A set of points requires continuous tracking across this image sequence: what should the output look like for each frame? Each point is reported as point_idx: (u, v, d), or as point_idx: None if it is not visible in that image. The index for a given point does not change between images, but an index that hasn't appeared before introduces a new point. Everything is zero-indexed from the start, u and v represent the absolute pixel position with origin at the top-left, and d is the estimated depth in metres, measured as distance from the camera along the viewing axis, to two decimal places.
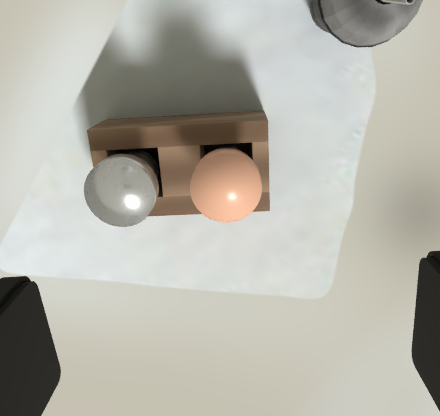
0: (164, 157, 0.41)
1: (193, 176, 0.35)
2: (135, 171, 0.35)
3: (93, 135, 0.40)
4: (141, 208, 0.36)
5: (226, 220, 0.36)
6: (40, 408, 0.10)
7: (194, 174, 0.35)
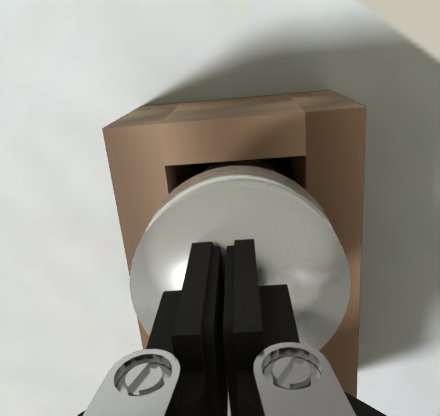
0: None
1: None
2: (310, 337, 0.12)
3: (349, 124, 0.14)
4: None
5: None
6: None
7: None
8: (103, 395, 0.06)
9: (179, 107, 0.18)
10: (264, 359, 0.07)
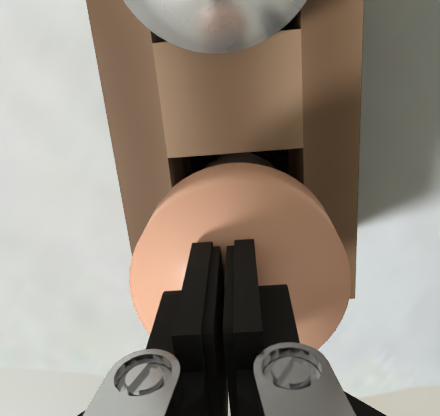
0: (269, 49, 0.14)
1: (281, 195, 0.10)
2: None
3: None
4: (170, 7, 0.12)
5: (136, 290, 0.12)
6: None
7: (288, 198, 0.10)
8: (103, 395, 0.06)
9: None
10: (264, 359, 0.07)
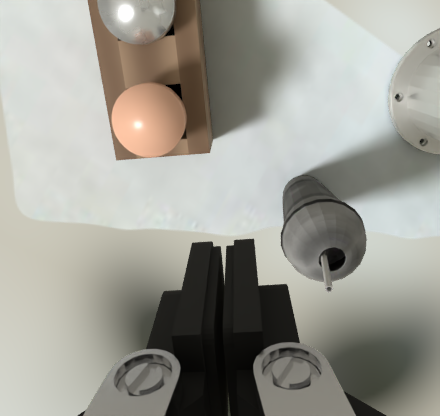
0: (163, 43, 0.37)
1: (158, 88, 0.34)
2: (161, 23, 0.34)
3: None
4: (121, 28, 0.34)
5: (114, 123, 0.35)
6: None
7: (160, 89, 0.34)
8: (103, 395, 0.06)
9: None
10: (264, 359, 0.07)
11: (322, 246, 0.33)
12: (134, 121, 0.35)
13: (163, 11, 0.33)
